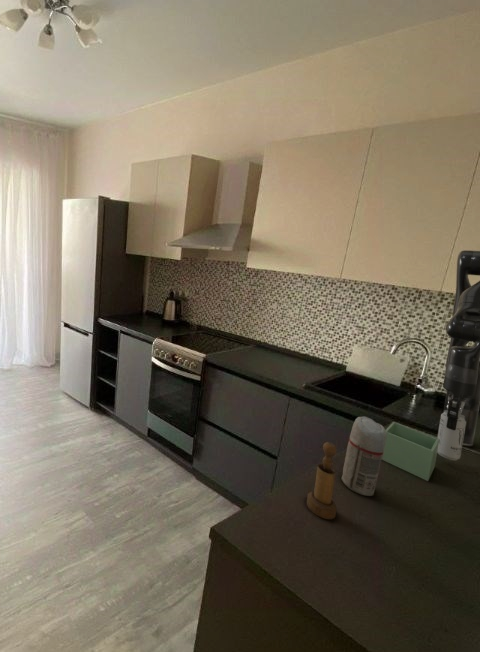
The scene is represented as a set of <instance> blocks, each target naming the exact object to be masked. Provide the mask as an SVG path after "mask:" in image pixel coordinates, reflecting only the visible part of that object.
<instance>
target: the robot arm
mask: <svg viewBox="0 0 480 652" xmlns="http://www.w3.org/2000/svg"><path fill="white" fill-rule="evenodd" d="M469 276H478V277H479V276H480V250H461V251H460V252H459V253H458V255H457V259H456V281H455V295H454V302H453V308H452V316H451V317H450V319H449V320H448V322H447V323H446V325H445V332H446V334H447V335H448V337H450V341H449V345H448V351H447V356H446V360H445V372H444V377H443V383H442V388H443V389H444V390H446V394H445V399H444V404H443V405H444V406H443V411H442V413H444V412H445V410H448V413H447V417H448V420H447V426H446V427H447V428H448V429H451V430H456V426H457V420H458V419H459V418H458V417H459V414H462V415H463V416H464V419H465V421H466V427H465V433H464V439H463V444H462V447H468V448H472V447H473V446H474V439H475V433H476V429H477V423H478V417H479V413H480V412H479V411H480V280H478V281H477V282H475V283H474V284H471V282H470V279H469ZM469 343H473V344H472V345H469V346H467V345H468V344H469ZM451 411H452V412H455V413H456V415H453V414H450V413H451Z"/></svg>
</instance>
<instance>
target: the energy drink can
mask: <svg viewBox="0 0 480 652" xmlns="http://www.w3.org/2000/svg"><path fill="white" fill-rule="evenodd" d="M447 413H448V410H445V412H444V413H443V412H442V413H441V414H440V418H439V419H440V420H439V425H438V431H437V437H436V438H437V439H439V445H438V451H437V455H439V456H441V457H443V458H444V459H447V460H450V461H458V460H460V459H461V457H462V456H461V455H462V450H463V446H462V444H463V439H464V433H465V427H466V421H465V419H464V416H463V415H462V414H459V417H458V418H459V419H458V420H457V426H456V430H451V429H448V428H447V427H446V426H447V420H448V417H447ZM450 414H453V415H456V413H455V412H452V411H451V413H450Z"/></svg>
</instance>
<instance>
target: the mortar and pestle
mask: <svg viewBox="0 0 480 652" xmlns="http://www.w3.org/2000/svg"><path fill="white" fill-rule="evenodd" d="M322 450H323V452H324V455H325V456H324V457H323V458H322V463H319V464H317V468H316V474H315V475H316V476H315V483H314V490H313V491H310V492H308V493H307V499H306V506H307V507H308V509H309V511H310V512H312V513H313V514H315V515H316V516H318V517H319V518H322V519H325V520H333V519H335V518H336V515H337V514H336V513H337V505H336V503H335V502H334V500H333V491H334V485H335V478H336V471H335V469H334V468H332V466H333V464H334V461H333V457H334V456H335V455H336V454H337V452H338V449H337V446H336V445H335V444H334V443H332V442H329V441H326V442H324V443H323V445H322Z"/></svg>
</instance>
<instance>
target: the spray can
mask: <svg viewBox="0 0 480 652" xmlns="http://www.w3.org/2000/svg"><path fill="white" fill-rule="evenodd" d="M385 430H386V428H385V426H383V425H382V424H381V423H378V422H376V421H375V420H374V419H372V418H370V417H367V416H358V417H356V418H355V420H354V422H353V424H352V427H351V432H350V435H349V438H348V443H347V447H346V451H345V452H346V453H345V458H344V462H343V463H344V464H343V468H342V475H341V479H340V480H341V481H342V482H343V484H344V485H345V486H346V487H347V488H348V489H349V490H351V491H352V492H355V493H356V494H359V495H361V496H367V497H373V496H374V495H375V490H376V486H377V483H378V477H379V474H380V468H381V466H382V461H383V460H382V456H383V452H384V446H385V440H386V431H385Z"/></svg>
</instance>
